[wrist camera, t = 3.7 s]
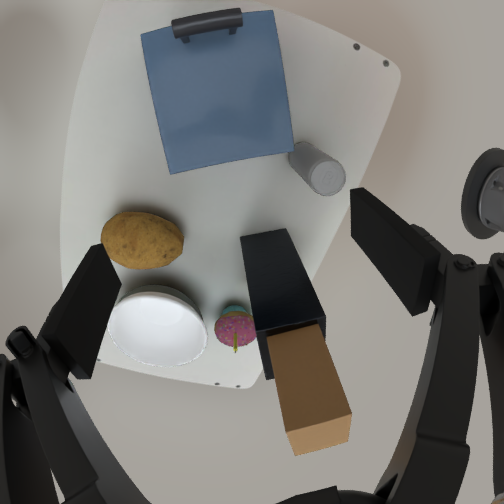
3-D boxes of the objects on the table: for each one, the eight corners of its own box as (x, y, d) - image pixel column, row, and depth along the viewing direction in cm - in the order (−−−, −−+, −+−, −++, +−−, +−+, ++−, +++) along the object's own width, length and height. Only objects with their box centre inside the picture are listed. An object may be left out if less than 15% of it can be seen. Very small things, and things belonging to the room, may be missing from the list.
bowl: (211, 337, 62) (211, 367, 55) (129, 338, 60) (122, 366, 53) (204, 266, 52) (203, 295, 45) (107, 268, 50) (94, 296, 43)
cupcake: (206, 306, 57) (206, 352, 47) (246, 291, 56) (253, 337, 46) (225, 333, 62) (228, 378, 51) (262, 320, 61) (271, 364, 51)
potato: (171, 294, 43) (183, 246, 38) (91, 271, 41) (92, 220, 36) (181, 257, 51) (193, 212, 46) (111, 238, 48) (116, 191, 43)
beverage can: (321, 148, 44) (353, 168, 33) (309, 175, 46) (336, 202, 36) (294, 137, 42) (320, 153, 32) (282, 164, 45) (303, 189, 34)
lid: (141, 35, 24) (120, 21, 17) (271, 11, 25) (288, -10, 17) (171, 173, 34) (158, 196, 26) (293, 150, 34) (314, 167, 27)
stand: (286, 227, 50) (326, 316, 32) (290, 274, 56) (324, 367, 37) (239, 236, 50) (255, 331, 31) (249, 283, 55) (266, 380, 37)
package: (318, 323, 32) (352, 414, 22) (321, 363, 36) (348, 441, 26) (266, 336, 32) (285, 432, 22) (277, 374, 36) (295, 456, 26)
